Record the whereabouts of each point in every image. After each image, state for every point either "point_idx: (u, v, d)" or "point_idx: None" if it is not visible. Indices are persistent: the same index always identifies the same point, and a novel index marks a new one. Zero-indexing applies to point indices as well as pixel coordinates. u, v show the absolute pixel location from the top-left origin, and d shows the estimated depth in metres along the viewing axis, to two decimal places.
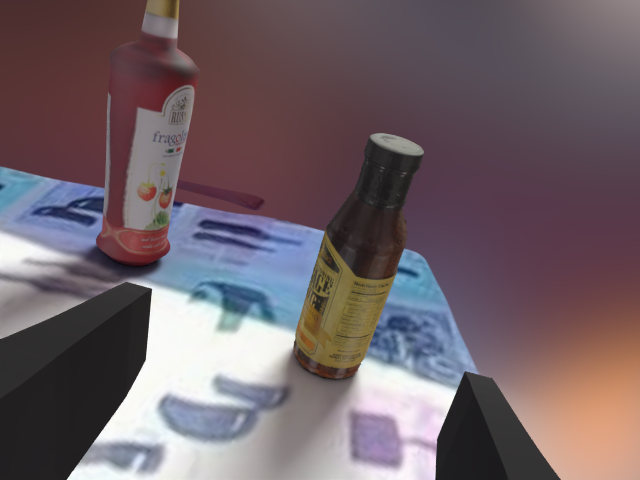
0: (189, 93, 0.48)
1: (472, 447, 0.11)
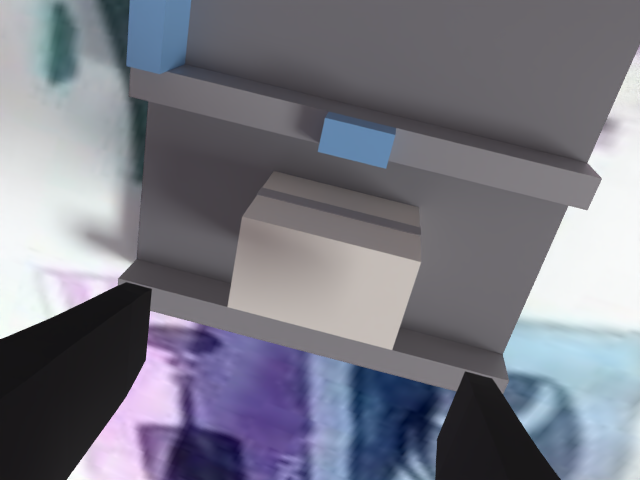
0: None
1: (472, 447, 0.11)
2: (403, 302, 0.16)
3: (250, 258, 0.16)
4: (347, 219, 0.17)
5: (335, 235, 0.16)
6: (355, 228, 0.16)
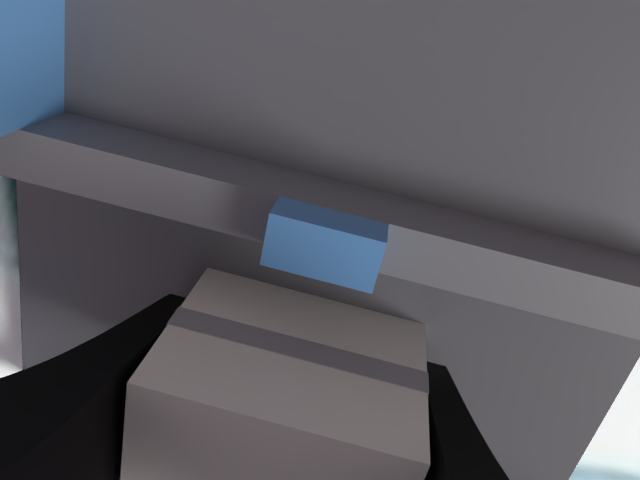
0: None
1: None
2: None
3: (147, 443, 0.10)
4: (310, 367, 0.10)
5: (285, 413, 0.09)
6: (322, 388, 0.10)
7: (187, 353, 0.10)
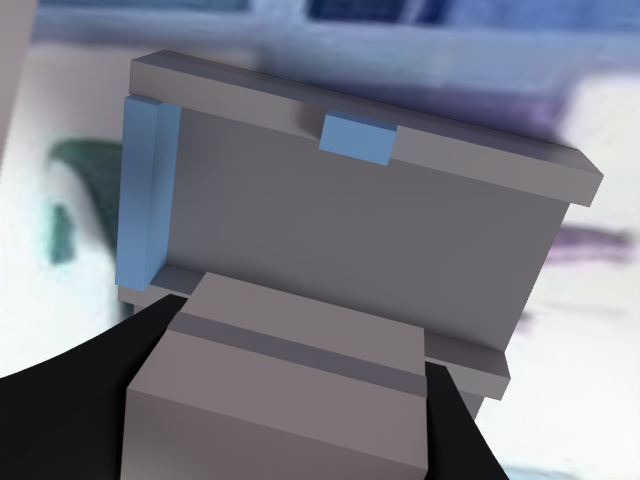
0: None
1: None
2: None
3: (146, 447, 0.10)
4: (309, 371, 0.10)
5: (284, 418, 0.09)
6: (320, 393, 0.10)
7: (186, 358, 0.10)
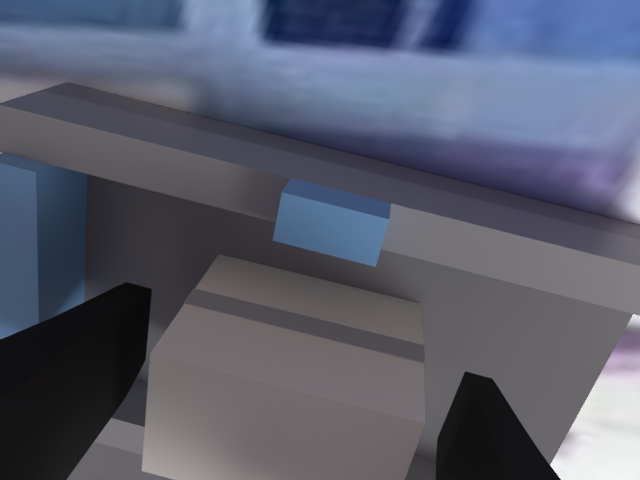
0: None
1: (473, 447, 0.11)
2: (399, 475, 0.10)
3: (168, 409, 0.11)
4: (315, 340, 0.11)
5: (293, 379, 0.10)
6: (326, 358, 0.11)
7: (203, 328, 0.11)
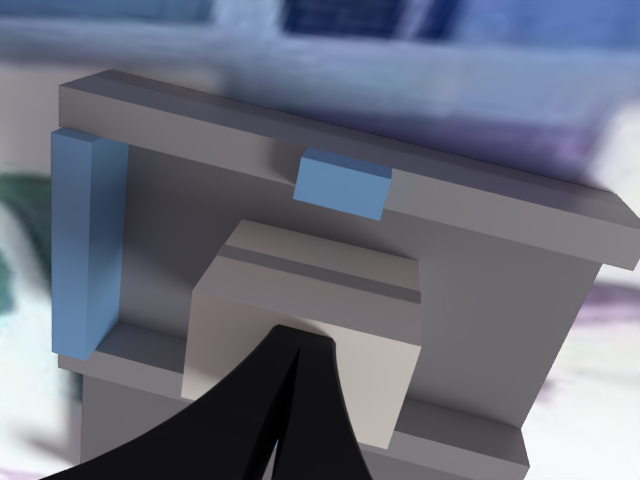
0: None
1: (290, 398, 0.11)
2: (400, 394, 0.12)
3: (205, 340, 0.13)
4: (329, 285, 0.13)
5: (311, 312, 0.12)
6: (338, 298, 0.13)
7: (234, 274, 0.13)
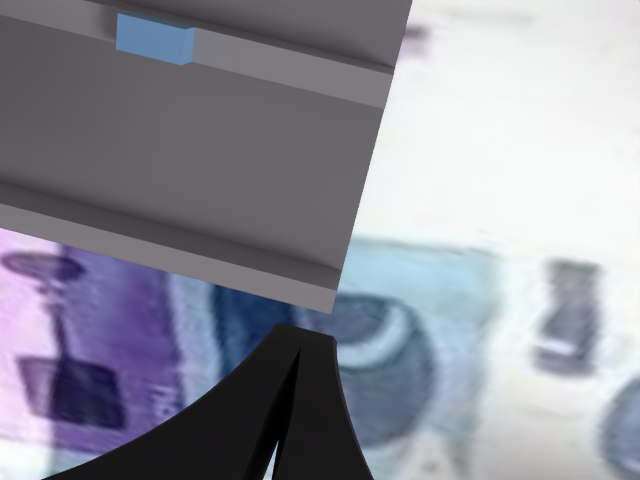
0: None
1: (291, 398, 0.11)
2: None
3: None
4: None
5: None
6: None
7: None
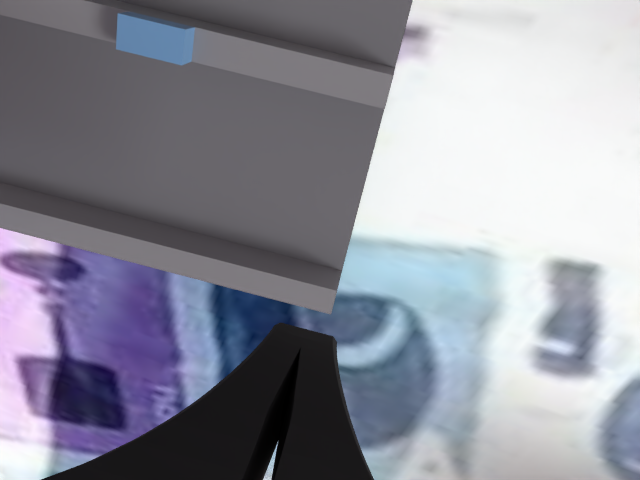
0: None
1: (291, 398, 0.11)
2: None
3: None
4: None
5: None
6: None
7: None
